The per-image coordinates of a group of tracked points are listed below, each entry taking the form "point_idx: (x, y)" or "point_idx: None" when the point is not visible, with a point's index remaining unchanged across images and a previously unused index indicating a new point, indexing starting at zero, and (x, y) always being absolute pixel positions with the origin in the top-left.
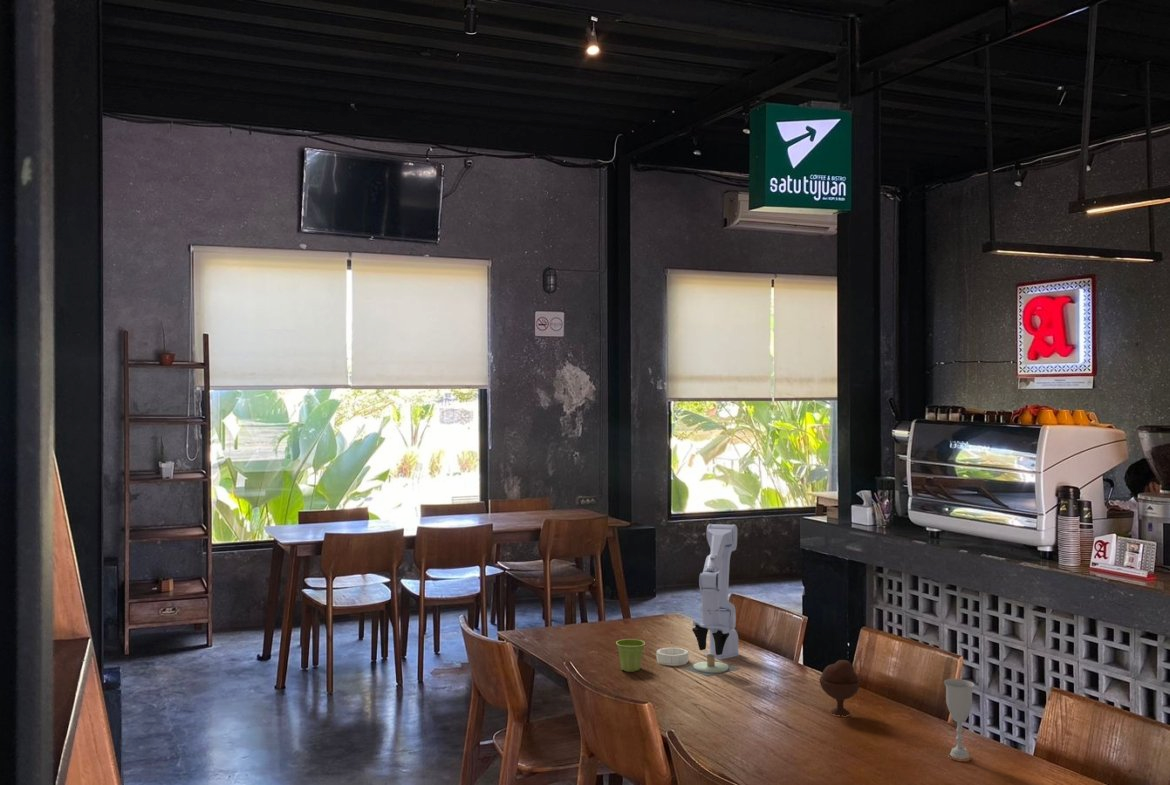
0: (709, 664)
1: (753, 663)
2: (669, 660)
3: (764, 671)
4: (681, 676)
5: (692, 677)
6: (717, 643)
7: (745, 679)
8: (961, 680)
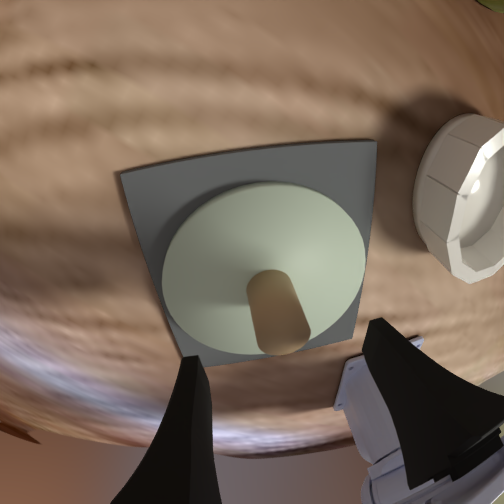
0: (261, 282)
1: (243, 412)
2: (465, 133)
3: (139, 401)
4: (243, 29)
5: (178, 80)
6: (152, 442)
7: (49, 314)
8: None
